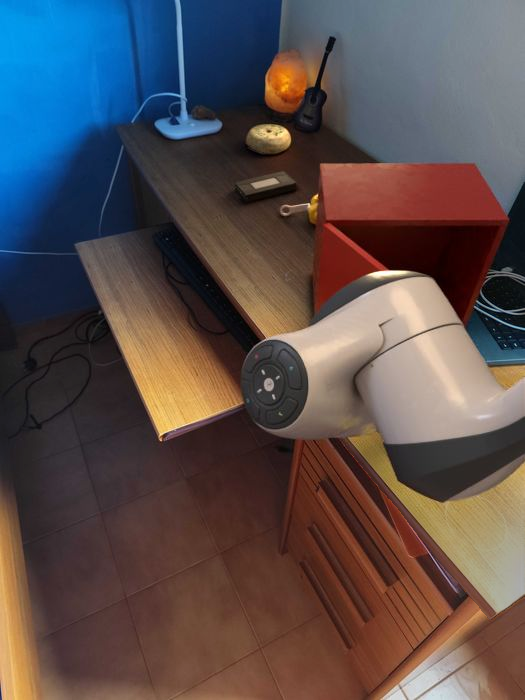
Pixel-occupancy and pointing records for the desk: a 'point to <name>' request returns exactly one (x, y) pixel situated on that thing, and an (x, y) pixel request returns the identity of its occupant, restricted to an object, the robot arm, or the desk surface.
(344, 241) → the door
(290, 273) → the desk surface
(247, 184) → the vhs tape
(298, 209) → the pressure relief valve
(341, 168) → the cabinet
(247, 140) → the bagel
